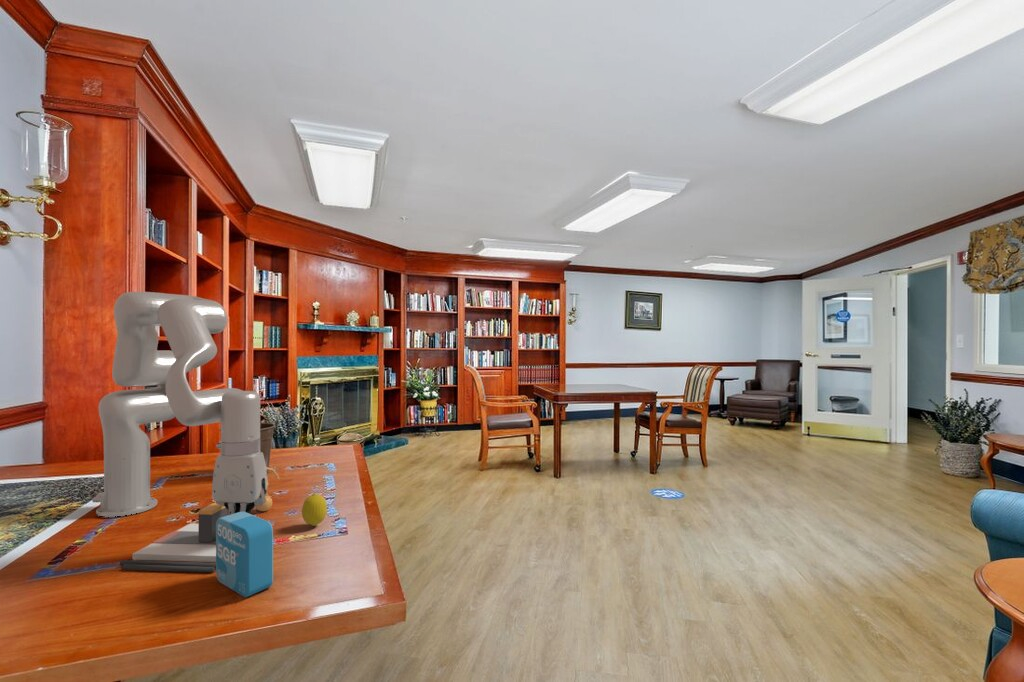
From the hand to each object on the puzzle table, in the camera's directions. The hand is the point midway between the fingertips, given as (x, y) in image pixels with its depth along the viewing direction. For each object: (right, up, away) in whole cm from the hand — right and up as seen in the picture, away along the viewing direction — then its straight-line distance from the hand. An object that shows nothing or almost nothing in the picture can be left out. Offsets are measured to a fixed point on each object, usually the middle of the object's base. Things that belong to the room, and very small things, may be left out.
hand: (241, 531), depth 104 cm
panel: (-8, -3, 0) cm, 8 cm away
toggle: (-6, -2, 0) cm, 7 cm away
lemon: (+12, -3, +10) cm, 16 cm away
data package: (+10, -3, -17) cm, 20 cm away
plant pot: (-29, -3, +54) cm, 61 cm away
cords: (-9, -3, -10) cm, 13 cm away
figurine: (-7, -3, +21) cm, 23 cm away
